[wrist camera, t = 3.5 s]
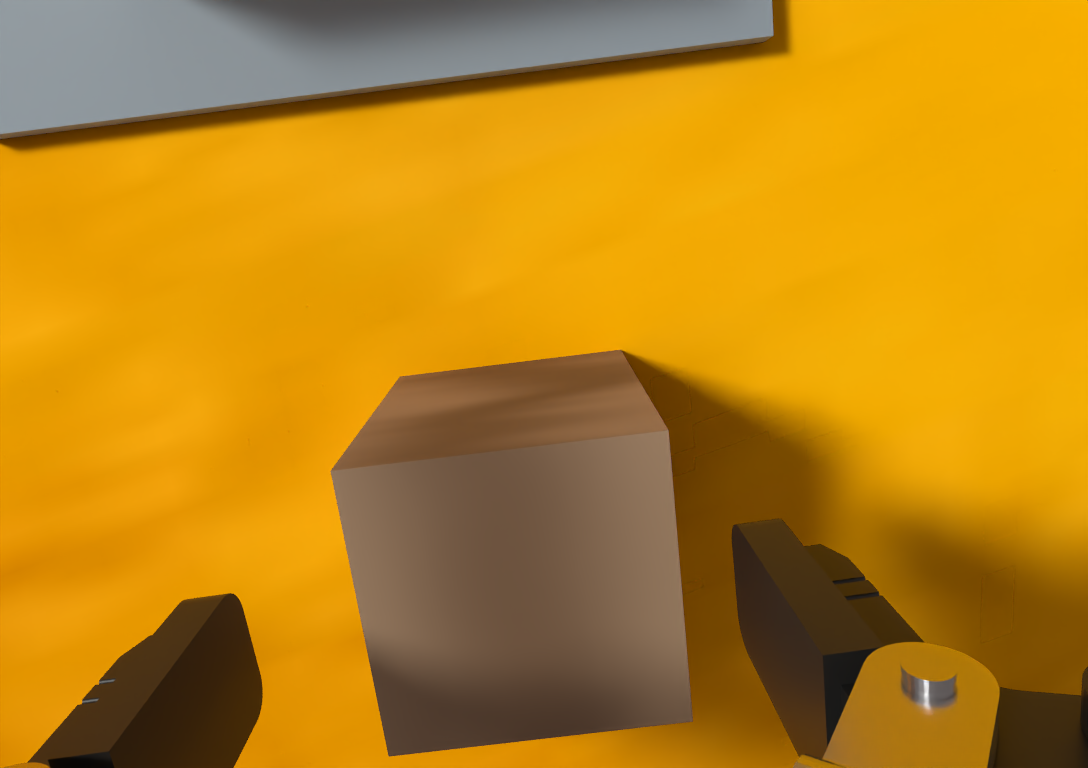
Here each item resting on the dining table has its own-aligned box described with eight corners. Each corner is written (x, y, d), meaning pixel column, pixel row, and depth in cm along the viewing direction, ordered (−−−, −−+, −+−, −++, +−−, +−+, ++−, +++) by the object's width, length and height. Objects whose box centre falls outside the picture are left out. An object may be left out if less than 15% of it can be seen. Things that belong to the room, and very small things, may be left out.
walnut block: (620, 349, 17) (668, 430, 11) (640, 551, 18) (692, 721, 12) (400, 376, 17) (330, 470, 11) (435, 575, 18) (388, 755, 12)
